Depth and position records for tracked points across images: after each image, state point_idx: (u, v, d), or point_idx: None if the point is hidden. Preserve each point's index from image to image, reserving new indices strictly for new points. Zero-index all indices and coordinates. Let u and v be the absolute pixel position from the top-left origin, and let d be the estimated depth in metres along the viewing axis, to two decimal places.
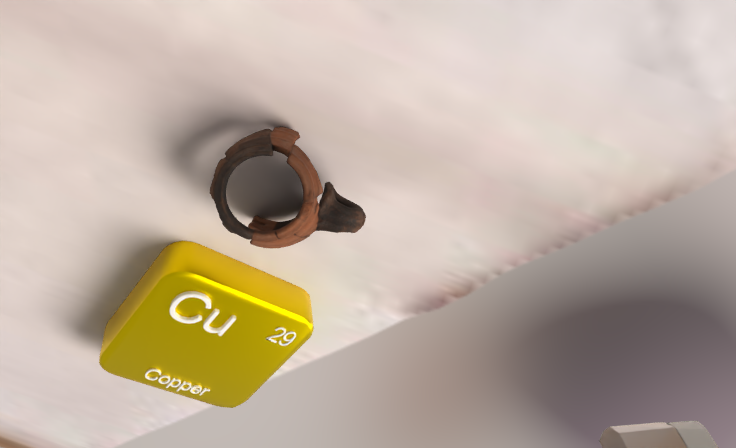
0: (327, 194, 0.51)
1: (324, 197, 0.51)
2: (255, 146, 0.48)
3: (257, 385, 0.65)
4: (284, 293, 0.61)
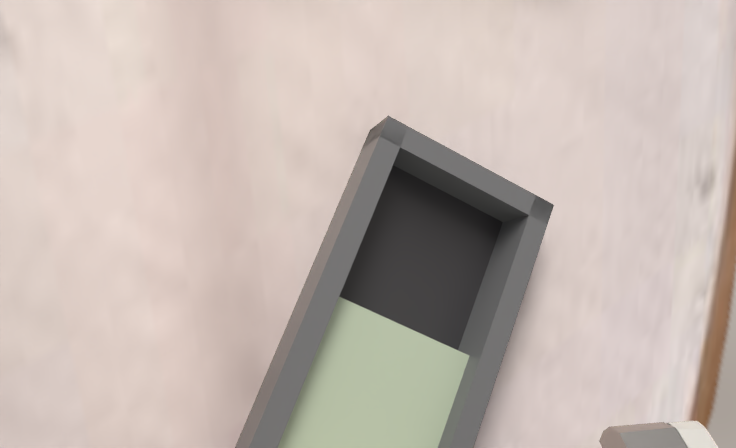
0: None
1: None
2: None
3: None
4: None
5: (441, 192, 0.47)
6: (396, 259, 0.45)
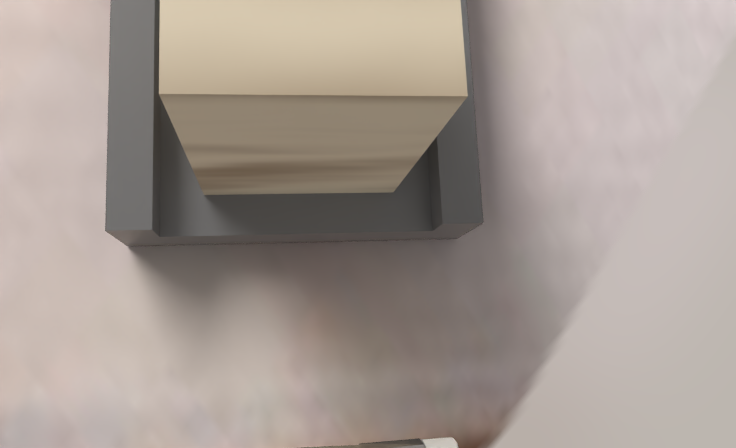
0: None
1: None
2: None
3: None
4: None
5: None
6: None
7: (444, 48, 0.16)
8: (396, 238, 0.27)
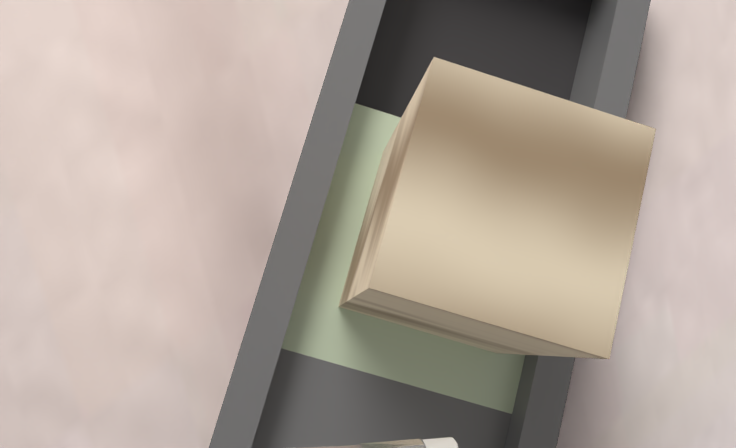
0: None
1: None
2: None
3: None
4: None
5: None
6: None
7: (601, 313, 0.19)
8: None
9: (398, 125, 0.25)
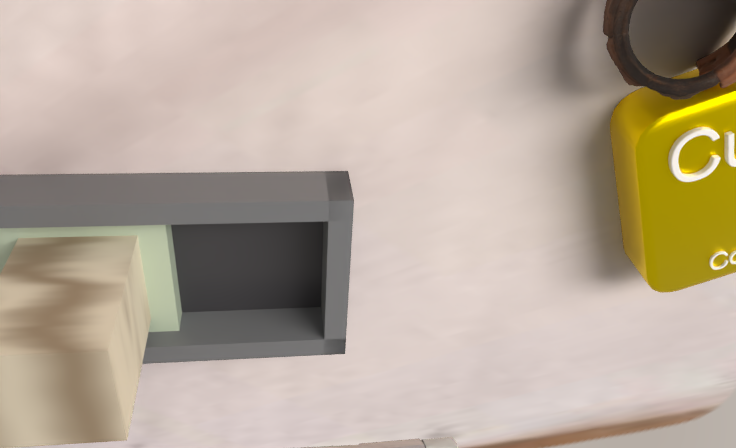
0: None
1: None
2: None
3: None
4: None
5: (320, 251, 0.47)
6: (236, 238, 0.46)
7: (14, 441, 0.37)
8: None
9: (121, 279, 0.38)
